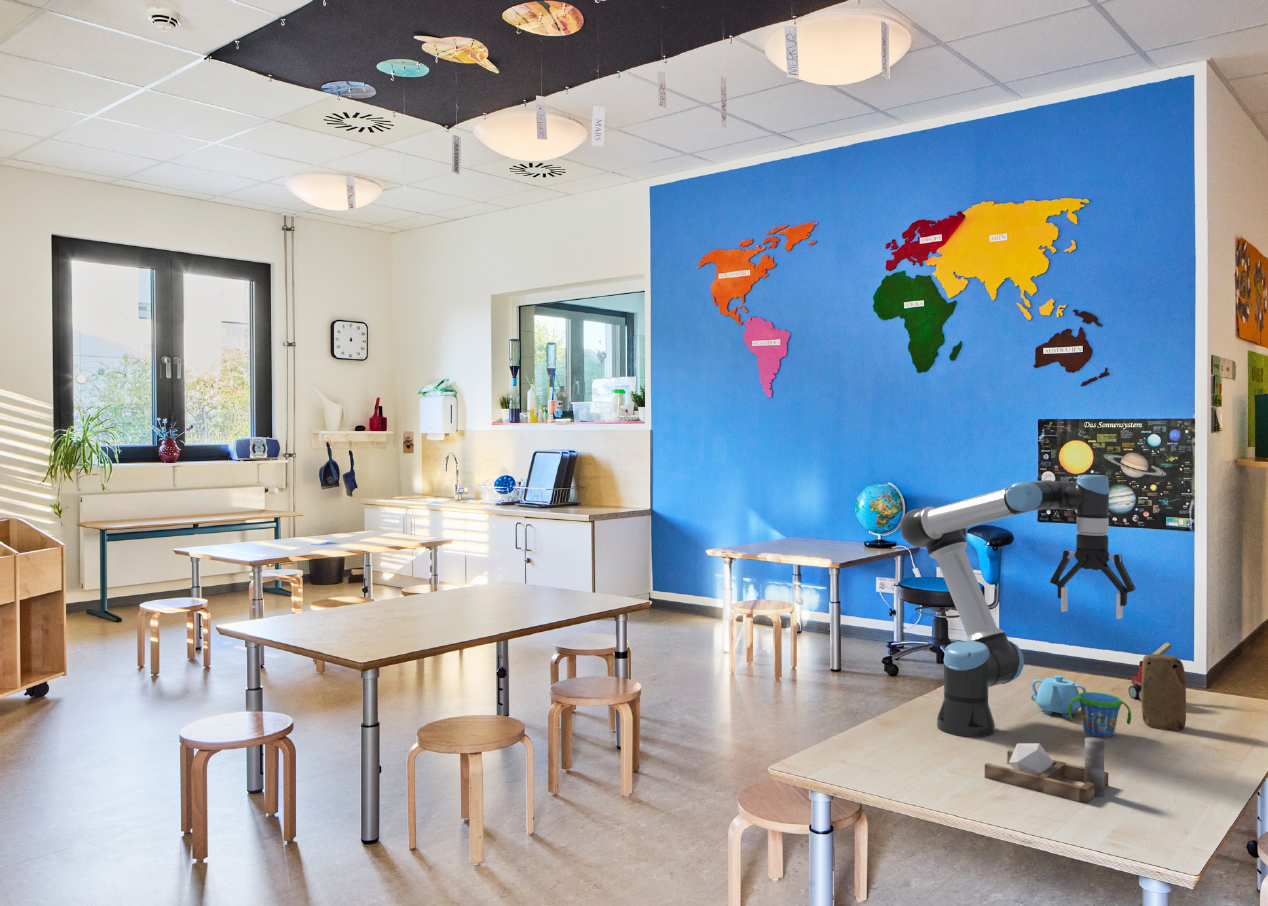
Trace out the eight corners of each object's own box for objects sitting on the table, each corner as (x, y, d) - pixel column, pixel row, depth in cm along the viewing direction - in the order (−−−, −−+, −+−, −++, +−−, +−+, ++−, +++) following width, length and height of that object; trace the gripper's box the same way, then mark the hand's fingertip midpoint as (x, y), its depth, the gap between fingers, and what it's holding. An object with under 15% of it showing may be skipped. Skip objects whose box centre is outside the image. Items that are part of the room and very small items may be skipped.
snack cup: (1128, 731, 257) (1129, 695, 257) (1133, 743, 247) (1134, 704, 247) (1066, 725, 263) (1066, 689, 263) (1069, 735, 253) (1069, 698, 253)
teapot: (1066, 708, 282) (1065, 671, 282) (1095, 719, 268) (1094, 680, 268) (1027, 710, 280) (1026, 672, 280) (1055, 721, 266) (1053, 682, 266)
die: (1048, 792, 213) (1064, 753, 217) (1012, 770, 215) (1029, 732, 218) (1032, 792, 221) (1048, 754, 225) (998, 771, 223) (1014, 734, 226)
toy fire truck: (1161, 710, 279) (1162, 651, 279) (1126, 696, 294) (1126, 640, 294) (1195, 709, 281) (1196, 650, 281) (1158, 695, 296) (1159, 639, 296)
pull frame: (984, 777, 220) (985, 726, 220) (1009, 762, 231) (1010, 713, 231) (1092, 805, 203) (1093, 750, 203) (1114, 787, 214) (1114, 735, 214)
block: (1139, 725, 263) (1139, 655, 263) (1145, 720, 268) (1146, 650, 268) (1182, 733, 256) (1183, 661, 255) (1188, 727, 261) (1189, 656, 261)
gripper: (1149, 536, 237) (1148, 619, 237) (1048, 529, 255) (1047, 607, 255) (1140, 538, 232) (1139, 623, 232) (1038, 531, 249) (1037, 610, 249)
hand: (1091, 615), depth 243 cm, fingers open, 13 cm apart
